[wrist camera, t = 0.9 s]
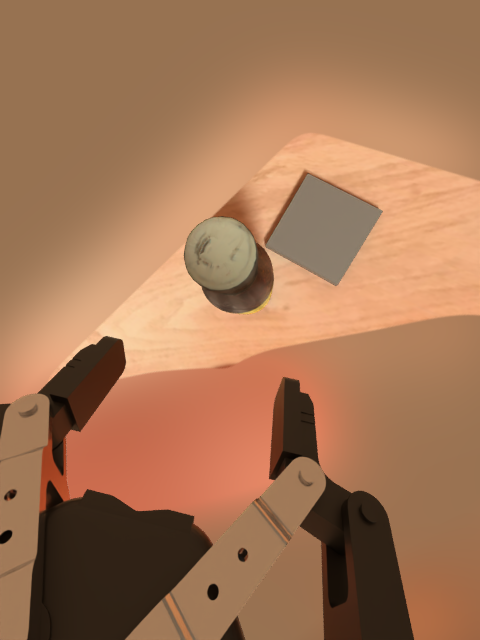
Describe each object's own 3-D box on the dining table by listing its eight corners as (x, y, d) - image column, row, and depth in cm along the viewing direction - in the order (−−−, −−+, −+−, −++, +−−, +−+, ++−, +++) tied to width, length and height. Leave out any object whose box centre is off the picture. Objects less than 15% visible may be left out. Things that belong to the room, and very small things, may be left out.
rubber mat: (379, 214, 31) (382, 211, 30) (335, 285, 32) (337, 284, 31) (306, 177, 33) (307, 173, 32) (266, 247, 33) (265, 244, 32)
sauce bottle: (215, 283, 34) (134, 228, 14) (255, 257, 33) (229, 160, 14) (241, 326, 33) (195, 329, 14) (283, 300, 33) (297, 264, 13)
